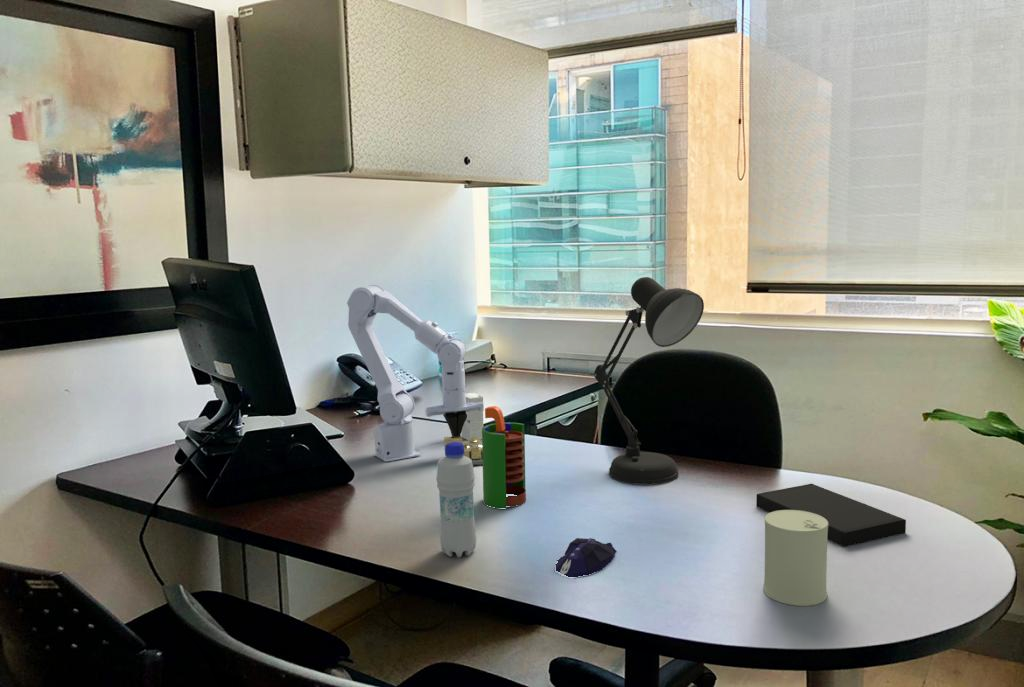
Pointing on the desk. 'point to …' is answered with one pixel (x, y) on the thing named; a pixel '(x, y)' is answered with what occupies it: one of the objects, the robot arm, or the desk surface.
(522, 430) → the coil heat exchanger
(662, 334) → the desk lamp
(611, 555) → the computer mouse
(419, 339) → the robot arm
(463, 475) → the bottle
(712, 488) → the desk surface
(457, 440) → the brass valve fitting
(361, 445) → the desk surface
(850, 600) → the desk surface
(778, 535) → the can
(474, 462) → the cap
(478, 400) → the skincare box
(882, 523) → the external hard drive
